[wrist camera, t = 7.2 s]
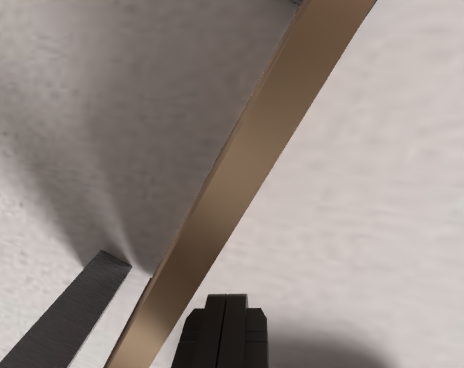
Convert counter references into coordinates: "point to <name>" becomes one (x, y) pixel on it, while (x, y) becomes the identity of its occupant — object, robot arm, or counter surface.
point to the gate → (240, 170)
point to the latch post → (70, 317)
